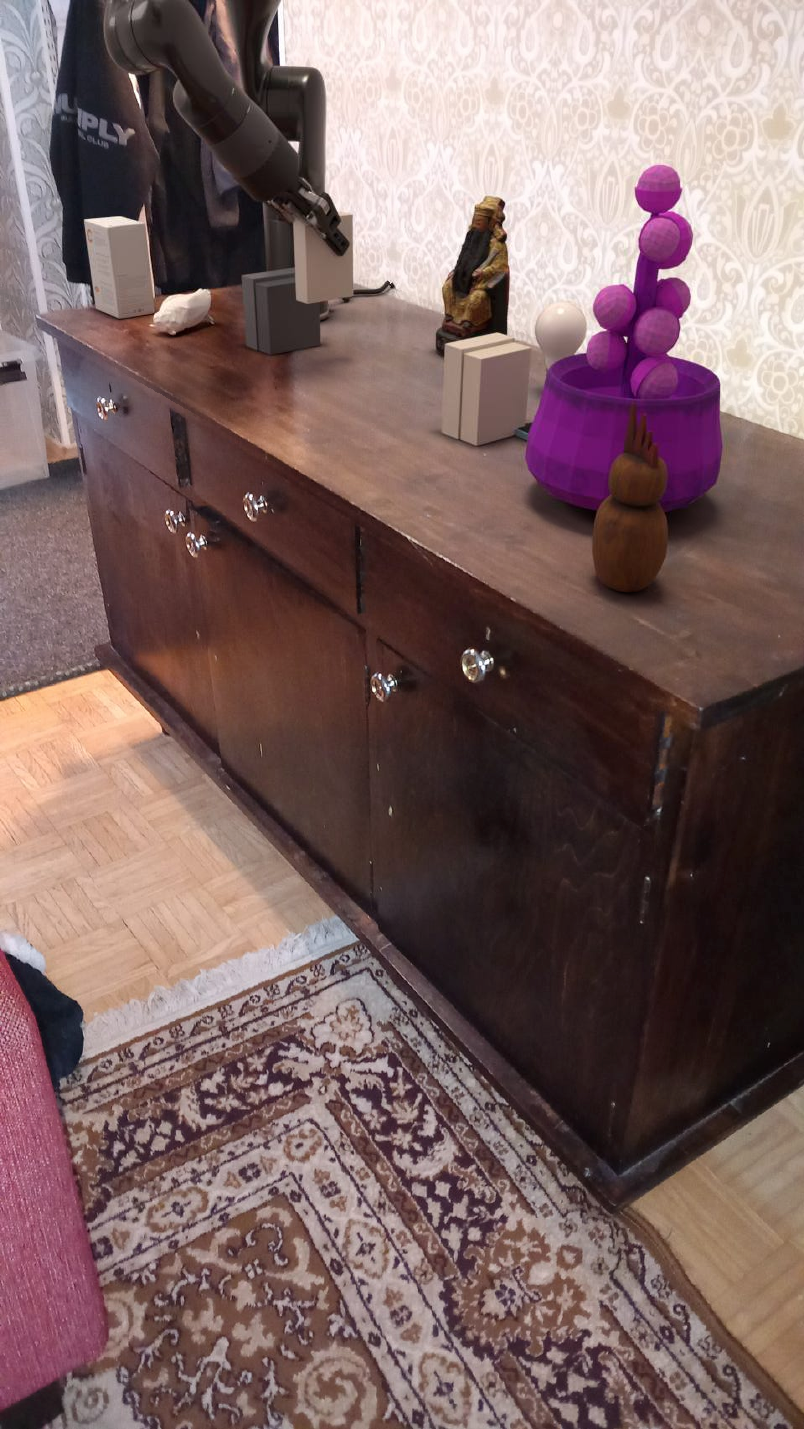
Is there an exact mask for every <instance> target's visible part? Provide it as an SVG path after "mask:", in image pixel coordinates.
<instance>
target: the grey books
mask: <svg viewBox="0 0 804 1429" xmlns="http://www.w3.org/2000/svg"><path fill="white" fill-rule="evenodd" d="M241 287H242V289H241V290H242V302H243V303H242V304H243V317H244V318H243V319H244V333H245V334H244V336H245V346H246V347H248V348H250V349H253V350H254V351H259V352H262V353H265V354H267V355H269V356H273V355H277V354H283V353H289V352H293V351H298V350H304V349H308V348H313V347H317V346H319V347H320V346H321V345H322V344H321V342H322V341H321V320H320V305H319V302H316V303H310V304H306V303H303V302H300V301H297V300H296V282H295V268H288V269H281V270H274V271H268V272H266V271H262V272H255V273H254V272H253V273H248V274H242V275H241Z"/></svg>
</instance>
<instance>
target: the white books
mask: <svg viewBox="0 0 804 1429" xmlns="http://www.w3.org/2000/svg"><path fill="white" fill-rule="evenodd" d="M515 340H516V339H515V337H514V336H510V335H508V334H507V335H504V334H501V333H493V334H488V335H484V336H479V337H475V338H470V339H465V340H461V341H456V342H451V343H447V344H445V355H443V357H444V358H443V359H444V360H443V382H442V383H443V384H442V385H443V386H442V387H443V388H442V409H441V410H442V413H441V416H442V417H441V418H442V419H441V434H443V435H446V436H447V437H451V438H452V439H455V440H461V441H463V442H465V443H468V444H470V445H473V446H475V447H478V446H482V445H485V444H489V443H492V442H496V441H499V440H502V439H506V438H510V437H513V436H516V435H515V429H516V428H520V427H524V426H525V423H527V422H526V420H527V408H528V397H529V396H528V395H529V383H530V372H531V371H530V370H531V360H532V359H531V358H532V347H531V346H528V345H524V344H521V343H518V342H515Z"/></svg>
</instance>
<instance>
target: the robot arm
mask: <svg viewBox="0 0 804 1429" xmlns="http://www.w3.org/2000/svg"><path fill="white" fill-rule="evenodd" d="M281 2H282V0H224V3H225V7H226V12H227V16H228V19H229V24H230V28H231V34H232V37H233V43H234V48H235V53H236V59H237V66H238V70H239V78H240V83H241V85H240V84H239V83H238V82H237V80H236V79H235V78H234V77H233V76H232V75H231V74H230V73H229V71H228V70H227V69H226V68H225V66H224V64H223V62H222V59H221V57H220V55H219V52H218V50H217V48H216V46H215V45H214V42H213V40H212V39H211V35H210V34H209V32H208V30H207V28H206V26H205V24H204V22H203V19H202V18H201V16H200V14H199V12H198V11H197V10H196V8H195V7H194V6H193V5H192V3H191V2H190V1H189V0H107V3H106V6H105V11H104V16H103V37H104V42H105V46H106V49H107V52H108V54H109V56H110V58H111V60H112V61H113V63H115V65H116V66H117V67H118V68H119V69H120V70H122V71H123V72H125V73H127V74H130V75H133V76H144V75H149V74H152V73H155V72H156V73H157V72H160V71H164V70H166V69H168V70H169V71H170V72H171V73H172V74H173V75H174V76H175V78H176V79H177V81H176V83H175V85H174V87H173V91H172V101H173V105H174V107H175V109H176V111H177V113H178V114H179V115H180V117H181V118H182V119H183V120H184V121H185V122H186V123H187V124H188V126H189V127H190V128H191V129H192V130H193V132H195V134H196V135H197V136H198V137H199V138H200V139H201V140H202V141H203V142H204V144H205V145H206V146H207V147H208V149H209V150H210V152H211V153H212V155H213V156H214V158H215V159H216V160H217V162H219V164H221V166H222V167H223V168H224V169H225V170H226V172H228V173H229V174H230V176H231V177H232V178H233V180H235V181H236V182H237V183H238V185H239V186H240V187H241V188H242V189H243V190H244V192H246V193H247V195H248V196H249V197H250V198H251V200H253V201H255V202H257V203H262V211H263V213H262V215H263V233H264V246H265V247H264V249H265V250H264V252H265V270H266V271H265V272H268V271H274V270H281V269H288V268H295V255H294V228H293V223H294V217H296V218H297V219H298V220H299V221H300V222H301V223H302V224H303V225H304V226H306V227H311V228H313V230H314V231H315V232H316V233H317V234H318V235H319V236H320V237H321V238H322V239H323V240H324V241H325V242H326V243H327V245H328V246H329V247H330V248H331V249H332V250H333V252H334V253H335V254H336V255H337V256H343V255H344V254H345V252H346V251H347V249H348V248H349V246H350V243H349V241H348V240H347V238H346V237H345V236H344V235H343V234H342V232H341V231H340V230H339V229H338V228H337V227H338V225H339V224H340V222H341V218H340V216H339V214H338V212H339V211H338V210H337V208H336V206H335V204H334V201H333V199H332V197H331V195H330V194H329V193H327V192H326V174H327V172H326V171H327V167H326V166H327V162H326V160H327V159H326V158H327V157H326V156H327V154H326V153H327V152H326V148H327V147H326V146H327V142H326V140H327V139H326V138H327V89H326V84H325V79H324V76H323V74H322V72H321V71H320V70H319V69H318V68H316V67H313V66H298V65H297V66H295V65H272V64H271V63H270V62H269V60H268V57H267V51H266V50H267V49H266V48H267V47H266V46H267V45H266V43H267V39H268V37H269V36H268V35H269V32H270V30H271V26H272V24H273V20H274V18H275V16H276V14H277V11H278V9H279V7H280V5H281ZM290 142H293V143H298V147H297V148H298V149H297V151H296V149H295V147H293V146H292V144H291V143H290ZM308 215H309V216H308ZM307 216H308V218H307ZM317 221H318V223H319V225H320V226H319V225H318V224H317ZM388 280H389V279H387V280H386V281H385V282H384V283H383V284H382V285H381V286H380V287H378V288H371V289H367V288H366V289H364V288H363V289H361V288H360V289H353V296H359V295H363V296H365V295H367V296H368V295H379V294H381V293H383V292H385V291H386V290H387V289H388V287H389V288H390V289H396V285H395V283H394V282H393V281H392V283H391V284H390V282H389V281H388ZM340 299H341V300H343V302H349V301H350V297H345V298H340ZM319 305H320V321H323V320H325V319H327V318H329V316H330V309H329V300H328V301H322V302H319Z"/></svg>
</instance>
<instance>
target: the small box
mask: <svg viewBox="0 0 804 1429" xmlns="http://www.w3.org/2000/svg"><path fill="white" fill-rule="evenodd" d="M83 224H84V229H85V230H84V232H85V237H86V238H85V239H86V246H87V253H88V262H89V267H90V268H89V269H90V275H91V282H92V289H93V296H94V305H95V309H96V310H98V311H99V312H103V313H105V314H108V315H110V316H112V317H114V318H116V319H119V320H120V319H128V318H133V317H139V316H145V315H151V314H155V313H156V310H155V309H156V308H155V299H154V291H153V283H152V273H151V265H150V256H149V248H148V238H147V230H146V223H145V222H142V221H138V220H136V219H135V220H134V219H131V218H129V217H128V218H127V217H125V216H121V215H119V216H117V215H116V216H109V217H107V216H105V217H97V218H85V219H83Z"/></svg>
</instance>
